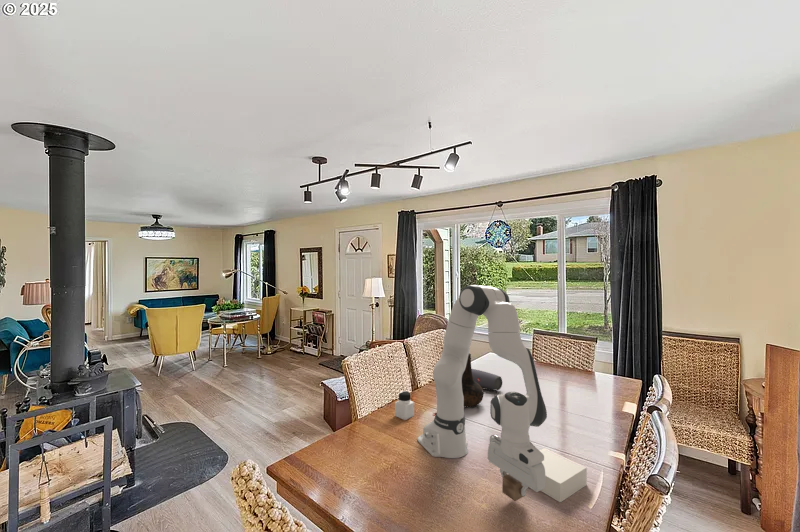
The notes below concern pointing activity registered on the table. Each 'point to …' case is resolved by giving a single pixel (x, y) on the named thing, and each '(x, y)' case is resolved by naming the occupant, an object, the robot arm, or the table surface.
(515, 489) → the walnut cube
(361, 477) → the table surface
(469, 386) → the glass bottle
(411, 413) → the medicine bottle
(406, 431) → the table surface
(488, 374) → the bluetooth speaker
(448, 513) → the table surface
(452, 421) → the robot arm
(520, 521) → the table surface
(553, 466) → the plate
